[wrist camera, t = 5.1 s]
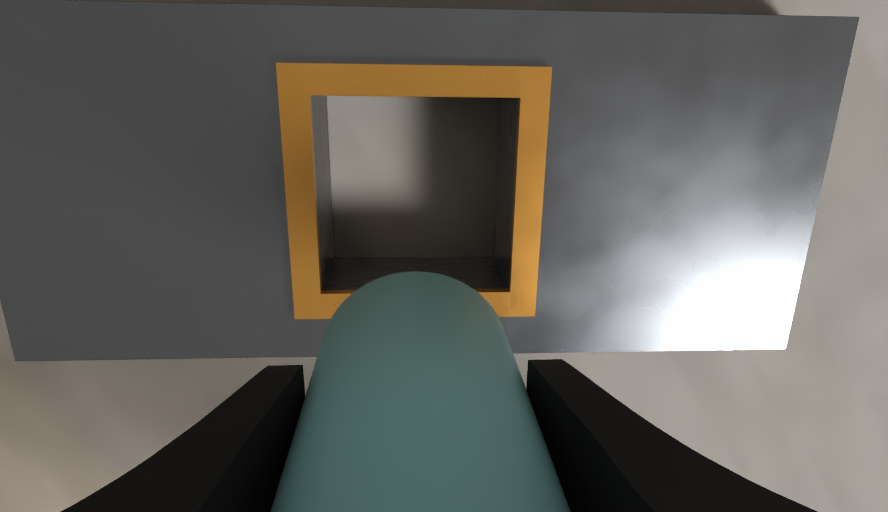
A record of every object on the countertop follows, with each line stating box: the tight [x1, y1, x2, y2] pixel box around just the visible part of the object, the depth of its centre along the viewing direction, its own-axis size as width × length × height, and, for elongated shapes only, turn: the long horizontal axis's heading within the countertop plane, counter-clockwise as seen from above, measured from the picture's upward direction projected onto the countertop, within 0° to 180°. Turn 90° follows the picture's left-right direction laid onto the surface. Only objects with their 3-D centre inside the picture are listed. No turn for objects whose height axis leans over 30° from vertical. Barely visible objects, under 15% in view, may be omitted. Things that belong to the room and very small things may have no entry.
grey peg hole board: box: [0, 0, 859, 361], centre depth 18 cm, size 24×10×3 cm, turn 89°
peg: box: [271, 271, 571, 512], centre depth 8 cm, size 4×4×8 cm
